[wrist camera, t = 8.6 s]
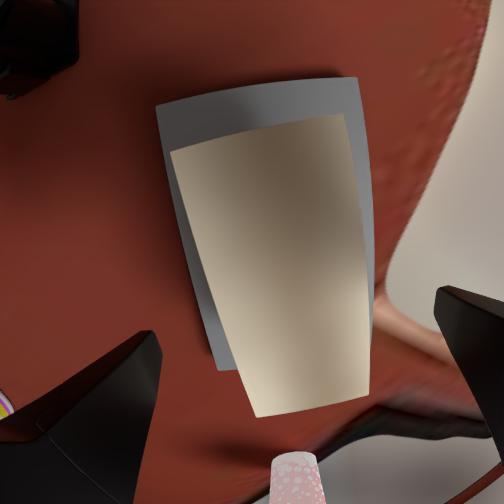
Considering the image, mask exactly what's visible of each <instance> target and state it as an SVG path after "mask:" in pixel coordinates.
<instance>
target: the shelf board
mask: <svg viewBox="0 0 504 504" xmlns="http://www.w3.org/2000/svg"><path fill="white" fill-rule="evenodd" d="M170 154H171V158H172V162H173V166H174V170H175V173H176V177H177V181H178V184H179V188H180V191H181V195H182V199H183V202H184V206H185V209H186V213H187V216H188V219H189V223H190V226H191V230H192V233H193V236H194V240H195V243H196V246H197V249H198V253H199V256H200V259H201V262H202V265H203V269H204V272H205V275H206V278H207V281H208V284H209V287H210V290H211V293H212V296H213V299H214V302H215V305H216V308H217V311H218V314H219V317H220V320H221V323H222V326H223V329H224V332H225V334H226V337H227V340H228V343H229V346H230V349H231V351H232V354H233V357H234V360H235V362H236V365H237V368H238V371H239V373H240V376H241V379H242V381H243V384H244V387H245V389H246V392H247V394H248V397H249V400H250V402H251V405H252V407H253V410H254V412H255V415H256V417H264V416H271V415H277V414H284V413H290V412H295V411H301V410H306V409H311V408H316V407H321V406H326V405H330V404H334V403H339V402H343V401H347V400H351V399H355V398H358V397H362V396H366V395H369V372H370V326H369V298H368V280H367V266H366V255H365V244H364V234H363V225H362V217H361V209H360V202H359V195H358V188H357V182H356V176H355V170H354V164H353V158H352V153H351V148H350V143H349V138H348V133H347V128H346V123H345V119H344V114H337V115H330V116H323V117H317V118H311V119H305V120H299V121H293V122H288V123H283V124H278V125H273V126H268V127H263V128H258V129H254V130H249V131H245V132H241V133H237V134H233V135H229V136H225V137H221V138H217V139H213V140H209V141H206V142H202V143H199V144H195V145H192V146H188V147H185V148H181V149H178V150H175V151H172V152H170Z"/></svg>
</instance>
